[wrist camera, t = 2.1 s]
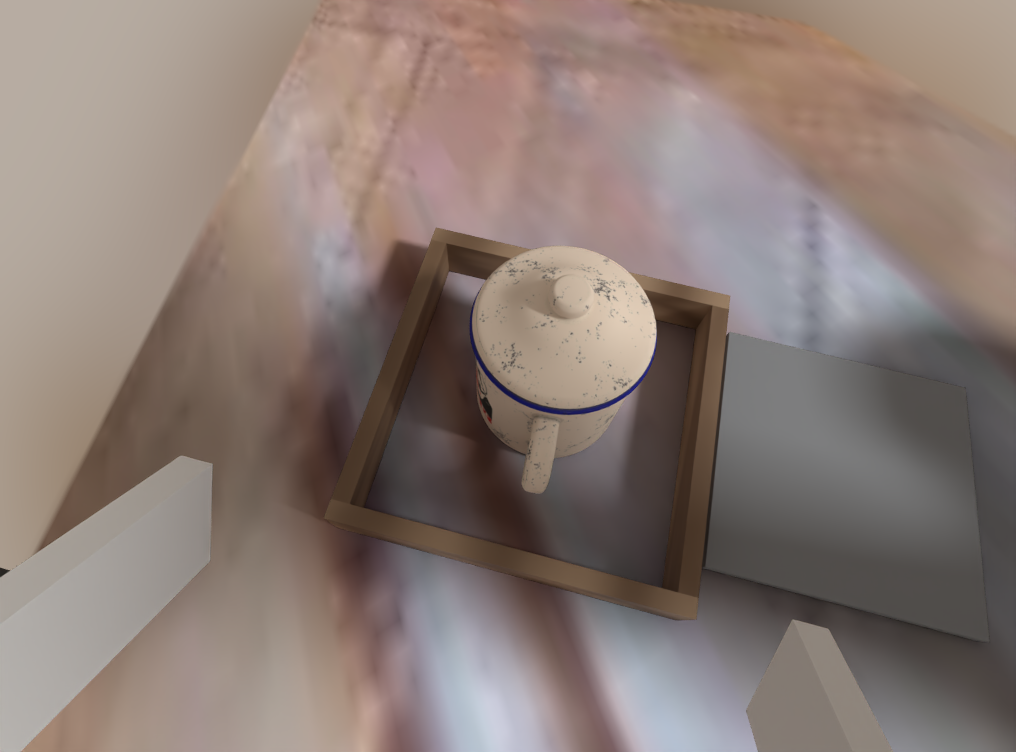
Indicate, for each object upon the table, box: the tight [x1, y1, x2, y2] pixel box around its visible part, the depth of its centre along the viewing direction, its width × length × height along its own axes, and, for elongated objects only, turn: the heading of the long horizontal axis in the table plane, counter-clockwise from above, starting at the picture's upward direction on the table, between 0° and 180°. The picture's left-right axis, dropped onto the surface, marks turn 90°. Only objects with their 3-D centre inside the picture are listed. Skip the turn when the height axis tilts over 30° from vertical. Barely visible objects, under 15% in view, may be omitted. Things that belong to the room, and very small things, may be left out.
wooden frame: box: [324, 228, 730, 620], centre depth 33 cm, size 19×19×3 cm
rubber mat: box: [702, 332, 990, 642], centre depth 33 cm, size 15×15×1 cm
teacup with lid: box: [470, 246, 657, 494], centre depth 29 cm, size 12×9×12 cm
